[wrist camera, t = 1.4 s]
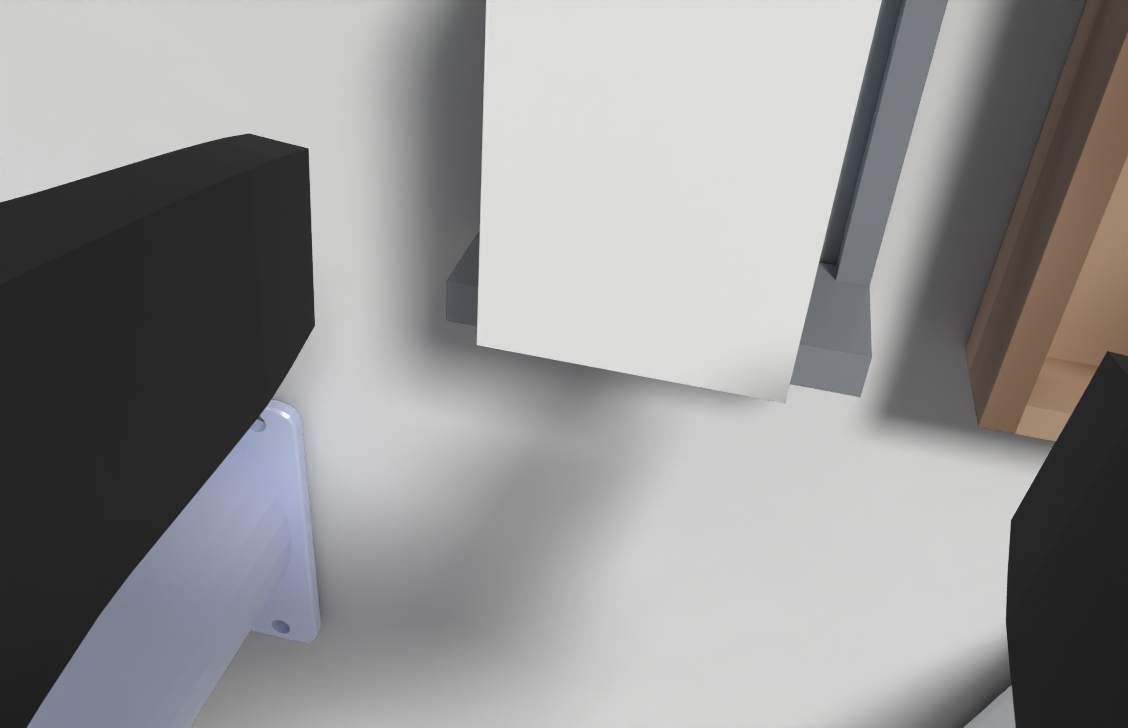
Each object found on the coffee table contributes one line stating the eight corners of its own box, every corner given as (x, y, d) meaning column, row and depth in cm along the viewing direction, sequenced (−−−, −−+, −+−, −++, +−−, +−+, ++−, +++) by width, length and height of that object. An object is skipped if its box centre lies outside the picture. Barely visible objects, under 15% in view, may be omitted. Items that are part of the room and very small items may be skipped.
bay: (493, 243, 21) (446, 320, 18) (516, -384, 15) (451, -395, 12) (859, 307, 20) (860, 397, 17) (1035, -342, 14) (1074, -345, 11)
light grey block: (568, 178, 20) (476, 345, 15) (602, -247, 16) (492, -210, 11) (801, 216, 19) (785, 403, 14) (898, -217, 15) (920, -164, 10)
